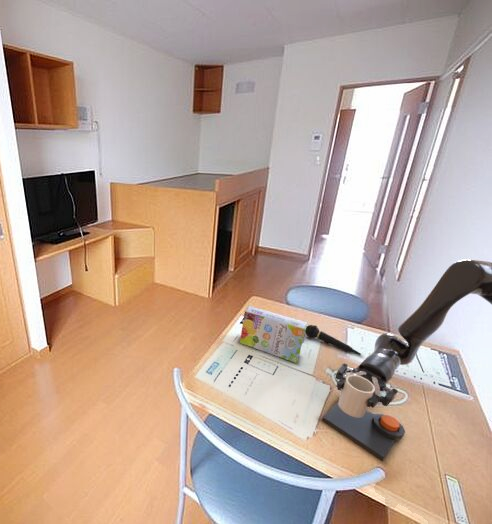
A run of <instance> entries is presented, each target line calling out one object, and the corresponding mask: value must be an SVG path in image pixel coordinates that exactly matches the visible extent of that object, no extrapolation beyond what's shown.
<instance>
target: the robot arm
mask: <svg viewBox="0 0 492 524" xmlns="http://www.w3.org/2000/svg"><path fill="white" fill-rule="evenodd" d="M469 295H477V296H480V298H482V299H484V300H485V301H486V302H487V303H489V304H490V305H492V262H491V261H488V260H487V261H486V260H477V259H461V260H458V261H455V262H453V263H452V264H451V265H450V266H448V268H447V269H446V270H445V271H444V273H443V274H442V275H441V276H440V278H439V280H438V282H437V283H436V284H435V286H434V287H433V288H432V290H431V291H430V293H429V294H428V295H427V297H426V298H425V299H424V300H423V302H422V303H421V304H420V305H419V306H418V307H417V308H416V310H415V311H414V312H412V314H411V315H410V316H408V318H407V319H405V320H404V321H403V322H402V323H401V324H400V325H399V326H398V328H397V332H398V334H399V335H400V336H401V337H402V339H404V340H405V341H406V342H405V341H403V340H402V339H401V338H399V337H398V336H396V335H395V334H392V333H390V332H385V333H382V334H380V335H379V336H378V337H377V338H376V340H375V342H374V346H373V352H372V353H371V354H370V355H368V356H367V357H366V358H365V359H364V360H363V361H362V362H361V363H360V364H359V365H358V366H357V367H356V368H351V367H349V366H348V365H349V364H347V363H346V362H343V363H342V364H341V365H340V367H339V368H338V370H336V371H337V372H336V374H335V379H336V380H338V381H337V383H336V388H337V390H338V391H342V388H343V385H344V382H345V379H346V377H347V376H348V375H358V376H361V377H363V378H365V379H367V380H369V381H370V382H371V383H372V384H373V385H374V387H375V392H374V394H373V396H372V397H371V398H370V400H369V401H368V404H367V407H368V409H369V408H375V407H376V406H377V404H378V403H380V404H381V405H382V406H384V407H388V406H389V405H390V404H391V403H392V402H393V401H394V400H395V399H396V396H397V395H398V392H399V391H398V389H397V388H394V387H393V388H389V387H388V386H387V384H388V383H389V381H390V380H391V379H392V378H393V376H394V374H395V372H396V370H397V369H398V368H399V367H400V366H406V365H407V366H408V365H409V364H411V363H412V362H413V361H414V359H415V357H416V355H417V353H418V351H419V349H420V347H421V346H422V345H423V343H425V342H426V341H427V340H428V339H429V338H430V337H431V336H432V335H433V334H435V333H436V332H437V331H438V330H439V329H440V328H441V326H442V325H443V323H444V322H445V319H446V317H447V315H448V313H449V311H450V310H451V308H452V307H454V305H455V304H456V303H457V302H459V301H460V300H462V299H463V298H465V297H467V296H469ZM382 392H385V395H382Z"/></svg>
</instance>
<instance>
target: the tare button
mask: <svg viewBox="0 0 492 524" xmlns="http://www.w3.org/2000/svg"><path fill="white" fill-rule="evenodd" d="M399 423H400V421H398V420H397V419H396V418H395V417H393V416H391V415H390V414H389V415H388V414H384V415H382V417H381V419H380V424H381V425H382V426H383V427H384V428H385V429H387V430H389V431H392V432H396V431H397V430H398V428H399V426H400V424H401V423H400V424H399Z"/></svg>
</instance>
